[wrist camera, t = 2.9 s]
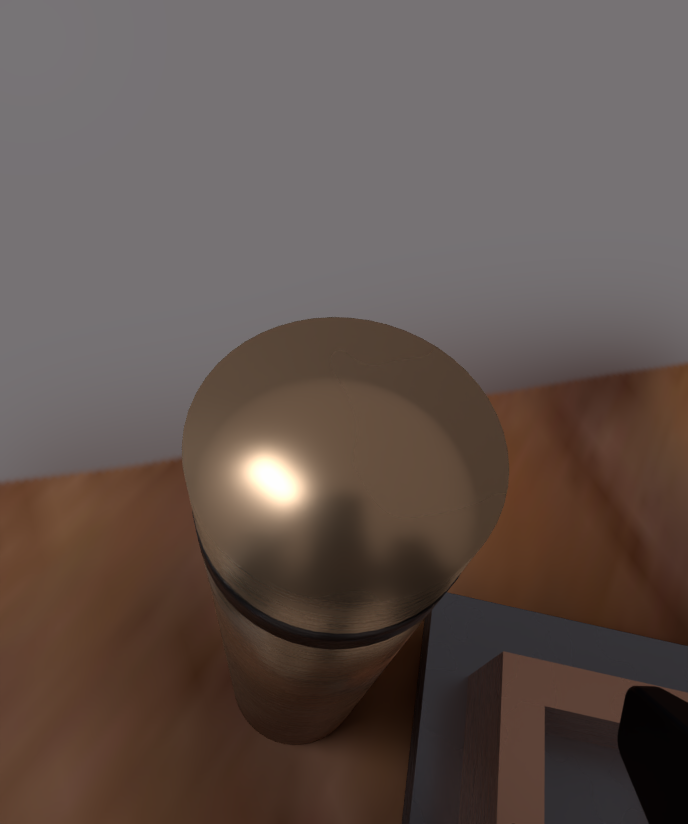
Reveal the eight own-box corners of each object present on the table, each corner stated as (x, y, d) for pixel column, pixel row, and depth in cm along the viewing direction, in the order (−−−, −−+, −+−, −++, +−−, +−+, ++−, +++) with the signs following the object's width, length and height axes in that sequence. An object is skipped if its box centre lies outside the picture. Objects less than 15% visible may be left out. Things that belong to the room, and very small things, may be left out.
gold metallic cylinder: (317, 774, 16) (421, 681, 5) (205, 696, 17) (105, 479, 6) (382, 652, 18) (555, 405, 7) (279, 586, 19) (300, 275, 8)
